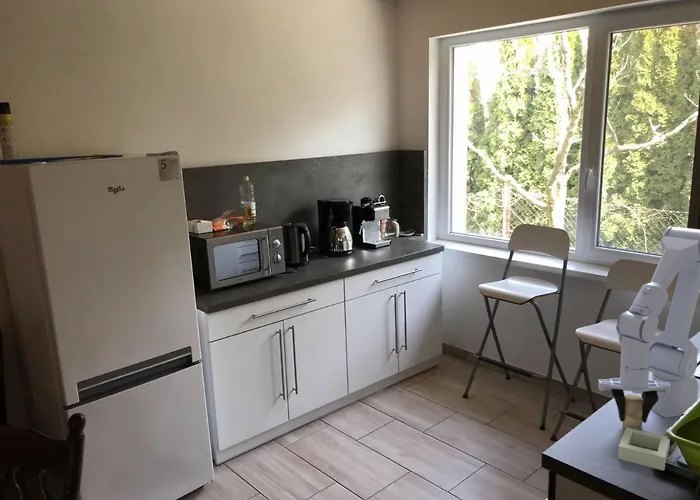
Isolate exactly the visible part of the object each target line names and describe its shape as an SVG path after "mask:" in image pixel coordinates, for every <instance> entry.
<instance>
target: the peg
mask: <svg viewBox="0 0 700 500" xmlns="http://www.w3.org/2000/svg"><path fill="white" fill-rule="evenodd" d="M624 396H625V398H626V400H625V406H624V421H622V427H623V428H624V429H626V427H627V428H632V429H636V430H640V431H642V429H643V422H642V417H643V398H642V396H640V395H638V394H635V393H632V394H631V393H627V394H624Z"/></svg>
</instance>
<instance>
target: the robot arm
mask: <svg viewBox="0 0 700 500" xmlns="http://www.w3.org/2000/svg"><path fill="white" fill-rule="evenodd" d="M660 243H661V251H662V254H661V257H660V260H659V262H658V263H657V267H656V268H655V271H654V273H653V275H652V277H651V280H650V282H648V283H645V284H642V286H641V288H640V289H639V291H638V292H637V295H636V297H635V298H634V300H633V302H632V304H631V306H630V307H629V309H628V310H627V311H624V312H622V313H621V314H620V315H619V317H618V318H617V323H616V324H615V331H616V333H617V335H618V342H619V343H620V346H621V347H620V368H619V369H620V370H619V373H620V374H619V377H616V378H615V377H614V378H608V379H607V378H606V379H598V385H597V386H598V389H599V391H600V392H604V391H611V394H612V397H613V398H614V401H615V404H616V407H617V412H618V418H619V419H618V420H619V421H620V422H623V421H624V406H625V400H626V398H625V391H626V392H632V394H636V395H638V394H641V397H642V398H643V417H642V424H643V423H644V424H646V423H647V420H648V417H649V415H650V413H651V411H654V412H655V413H657V414H659V416H661V417H662V418H672V417H679V416H683V415H682V414H683V413H684V412H685V411H686V410H687V409H688V408H689V407H691V406H692V405H693V404H694V403H695V402H696V401H697V402H698V398H699V397H698V396H699V395H698V394H699V383H698V380H697V378H696V376H695V375H694V374H695V373H696V370H697V367H698V355H699V348H697V345H695V344H694V342H693V341H692V340H691V339H690V338H689V333H690V330H691V327H692V326H691V325H692V322H693V320H694V319H693V318H694V316H695V311H696V307H697V303H698V301H699V295H700V229H699V228H698V229H697V228H687V227H678V226H675V225H670V226H668V227H667V229H666V230H664V232H663V234H662V238H661V242H660ZM676 276H677V280H676V285H675V289H674V291H673V296H672V300H671V304H670V306H669V310H668V315H667V319H666V322H665V327H664V330H663V332H662V333H659V334H657V331H658V325H659V323H660V319H659V316H660V314H661V312H662V310H663V309H664V306H665V304H666V302H668V299H669V293H668V291H667V289H668V288H669V287H670V285H671V283H672V282H673V281H674V279H675V278H676ZM667 345H668V346H667ZM673 347H674V348H673ZM678 348H679V349H678ZM650 373H652V377H651V379H650V378H649V377H650V376H649V374H650Z"/></svg>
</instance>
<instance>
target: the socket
mask: <svg viewBox="0 0 700 500" xmlns="http://www.w3.org/2000/svg"><path fill="white" fill-rule="evenodd" d="M667 437H668V436H667V435H662V434H658V433H652V432H649V431H643V430H636V429H632V428H627V427H626V428H624V431H623V433H622V436H621V438H620V441H619V444H618V453H617V459H618V460H621V461H625V462H629V463H633V464H636V465H641V466H643V467H647V468H652V469H656V470H659V471H662V472H663V471H665V469H666V465H665V463H666V464H667V461H666V459H667V460H668V457H669V453H670V447H671V446H670V444H671V443H670V442H671V438H670V439H668V438H667ZM657 450H658V451H657ZM668 452H669V453H668ZM667 456H668V457H667Z"/></svg>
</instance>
